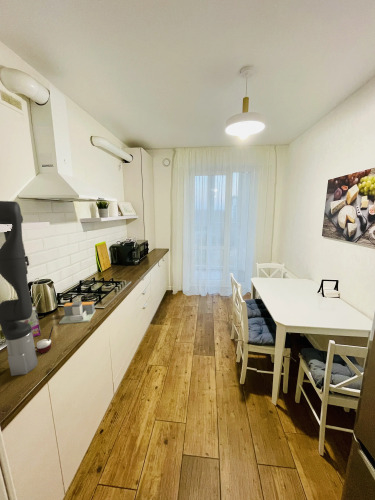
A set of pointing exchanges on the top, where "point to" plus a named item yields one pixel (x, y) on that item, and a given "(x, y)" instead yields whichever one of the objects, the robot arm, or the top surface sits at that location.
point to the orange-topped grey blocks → (85, 317)
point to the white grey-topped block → (77, 308)
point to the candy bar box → (33, 322)
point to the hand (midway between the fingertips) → (20, 276)
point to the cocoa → (44, 344)
